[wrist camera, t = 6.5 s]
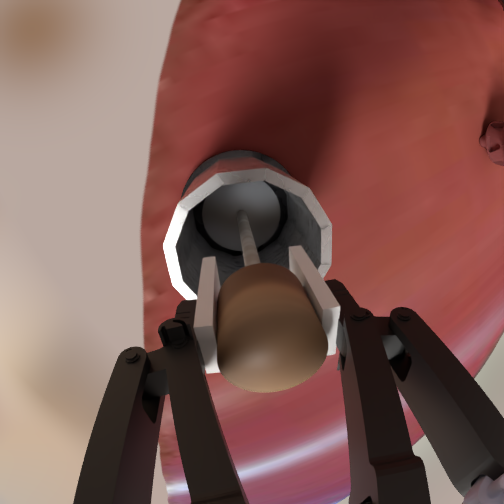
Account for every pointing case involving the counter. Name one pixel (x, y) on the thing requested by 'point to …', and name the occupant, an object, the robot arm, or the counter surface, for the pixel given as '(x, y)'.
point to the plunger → (260, 298)
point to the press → (272, 251)
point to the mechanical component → (494, 142)
